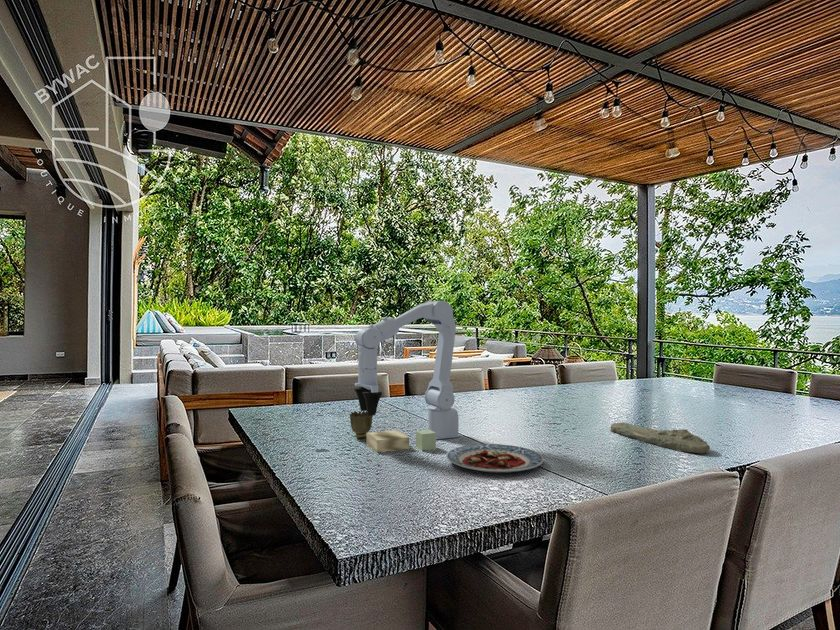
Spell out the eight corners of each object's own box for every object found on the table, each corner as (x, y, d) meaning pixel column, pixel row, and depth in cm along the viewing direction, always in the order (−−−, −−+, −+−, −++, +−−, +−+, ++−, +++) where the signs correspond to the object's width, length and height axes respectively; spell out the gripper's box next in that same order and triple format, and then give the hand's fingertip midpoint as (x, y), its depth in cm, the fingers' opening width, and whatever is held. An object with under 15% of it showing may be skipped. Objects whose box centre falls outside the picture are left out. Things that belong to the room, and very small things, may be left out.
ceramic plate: (522, 486, 124) (522, 473, 124) (428, 468, 138) (428, 457, 138) (556, 459, 146) (556, 449, 146) (472, 447, 160) (472, 437, 160)
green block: (429, 446, 160) (429, 429, 160) (435, 449, 156) (435, 432, 156) (415, 447, 158) (416, 431, 158) (421, 451, 154) (421, 434, 154)
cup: (368, 441, 166) (368, 415, 165) (346, 440, 167) (346, 414, 167) (375, 435, 173) (375, 411, 173) (354, 434, 174) (354, 410, 174)
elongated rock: (624, 433, 184) (603, 437, 179) (623, 418, 184) (601, 422, 179) (719, 451, 152) (696, 457, 148) (718, 433, 152) (694, 439, 148)
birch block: (397, 442, 165) (397, 429, 165) (409, 450, 156) (409, 437, 156) (366, 445, 161) (366, 432, 161) (376, 454, 152) (376, 440, 152)
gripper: (348, 366, 165) (349, 409, 165) (361, 371, 152) (362, 418, 152) (370, 365, 168) (370, 408, 168) (384, 370, 155) (385, 416, 155)
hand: (368, 413), depth 160 cm, fingers open, 7 cm apart
